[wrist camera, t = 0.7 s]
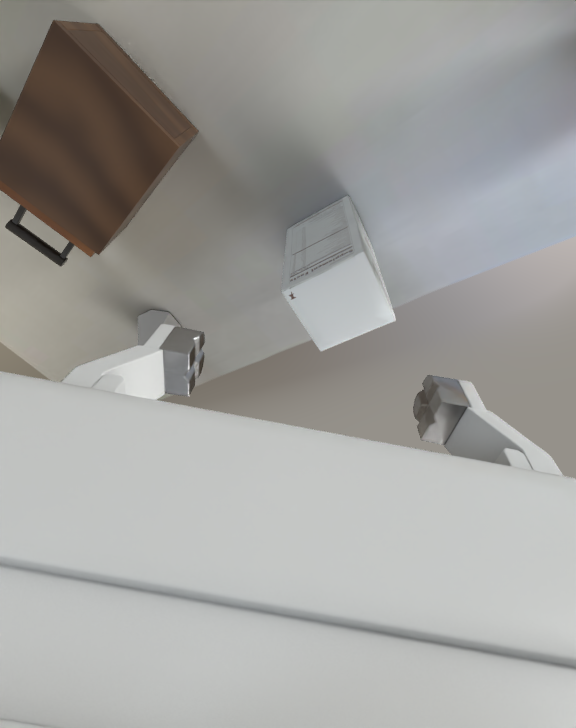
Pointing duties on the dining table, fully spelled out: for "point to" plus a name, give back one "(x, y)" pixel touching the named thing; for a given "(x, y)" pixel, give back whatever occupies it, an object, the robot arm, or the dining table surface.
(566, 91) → the dining table surface
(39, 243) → the drawer
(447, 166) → the dining table surface
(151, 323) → the flask
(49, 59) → the cabinet
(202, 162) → the dining table surface
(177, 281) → the dining table surface
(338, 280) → the supplement box
